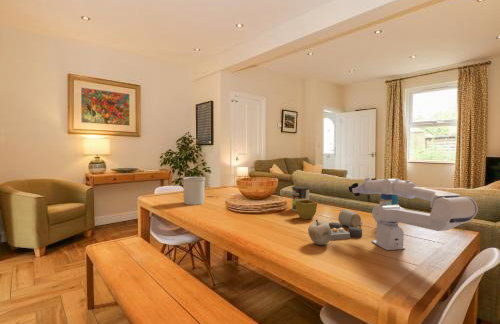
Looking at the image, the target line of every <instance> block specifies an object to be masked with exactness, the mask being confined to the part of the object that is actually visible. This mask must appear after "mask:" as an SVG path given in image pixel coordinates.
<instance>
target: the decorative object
mask: <svg viewBox="0 0 500 324" xmlns="http://www.w3.org/2000/svg"><path fill="white" fill-rule="evenodd" d="M307 231H308V236H309V238H310V239H311V241H312V243H314V244H315V245H318V246H319V245H320V246H324V245H326V244H328V243H330V241H331V240H330V238H331V229H330V226H329V222H328V223H327V222H325V221H318V219H315V222H313V223H311V224H310V225H309V226H308V230H307Z"/></svg>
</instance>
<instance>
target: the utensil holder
mask: <svg viewBox="0 0 500 324" xmlns="http://www.w3.org/2000/svg"><path fill="white" fill-rule="evenodd" d="M182 181H183V187H182V188H183V204H185V205H188V206H195V205H196V206H197V205H203V204H204V203H205V186H206V185H205V183H206V177H204V176H203V177H202V176H186V177H183V178H182Z"/></svg>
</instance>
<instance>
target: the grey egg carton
mask: <svg viewBox="0 0 500 324" xmlns="http://www.w3.org/2000/svg"><path fill="white" fill-rule="evenodd" d="M343 239H345V240H346V239H351V237H350V233H349V232H348V230H347V231H346V230H345V228H343V227H341V228H339V229H336V228H333V229H331V238H330V241H331V240H343Z"/></svg>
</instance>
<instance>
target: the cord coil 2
mask: <svg viewBox="0 0 500 324" xmlns="http://www.w3.org/2000/svg"><path fill="white" fill-rule="evenodd" d="M347 232H349V233H350V238H357V239H358V238H362V236H363V229H362V228H360V227H348V228H347Z"/></svg>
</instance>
